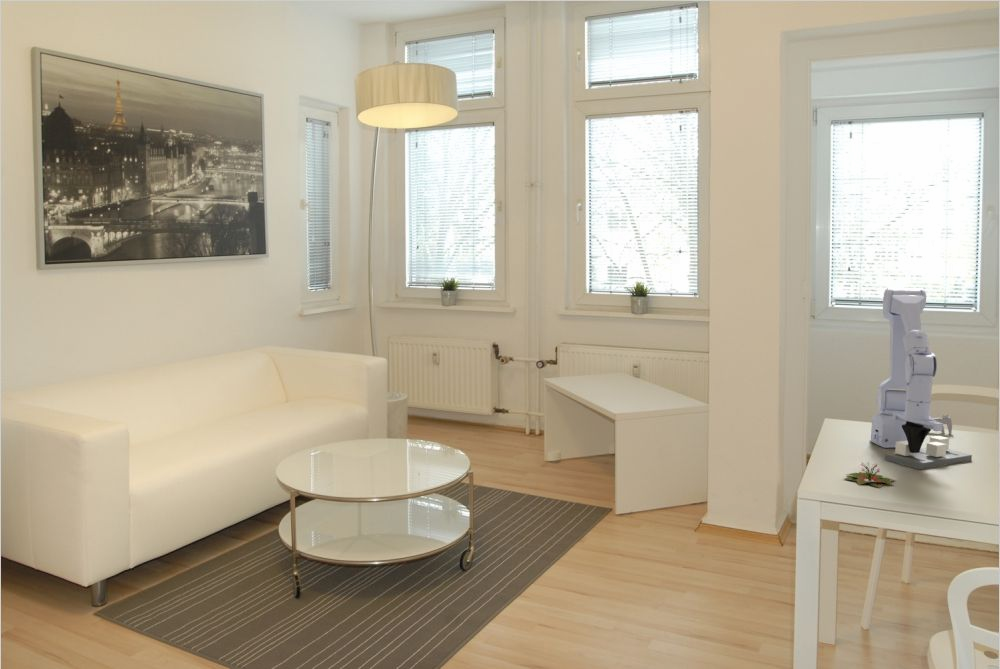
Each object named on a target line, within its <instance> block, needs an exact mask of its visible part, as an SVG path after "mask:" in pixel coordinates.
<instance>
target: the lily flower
mask: <svg viewBox="0 0 1000 669" xmlns="http://www.w3.org/2000/svg"><path fill="white" fill-rule="evenodd" d="M860 465H861V466H862V469H861V471H859V472H852V473H848V474H845V475H847V476H846V478H844V480H847V481H855V482H857V485H858V486H859V485H863V484H867V485H871V486H873V487H876V488H878V489H880V488H881V487H882V486H883V483H884V484H887V485H890V486H894V485H893V483H891V482H894V481H895V479H894V478H890V477H884V476H883V475H881V474H878V473H880V470H881V469H880V468H879V469H877V470H876V472H874V470H875V468H877V467H878V464H875V465H874V462H873V463H872V466H871V469H870V468H869V466H870V465H869V462H867V465H868V466H867V465H865V464H864V462H861V464H860ZM863 467H864V468H865V469H864V468H863ZM867 480H868V481H867ZM871 482H874V483H875V484H873V483H871ZM894 487H895V486H894Z"/></svg>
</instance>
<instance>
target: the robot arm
mask: <svg viewBox="0 0 1000 669" xmlns="http://www.w3.org/2000/svg"><path fill="white" fill-rule="evenodd" d="M882 302H883V303H882V313H883V314H882V315H883V318H886V319H887V320H889V326H890V328H889V329H890V332H889V333H890V335H889V337H890V338H889V339H890V340H889V376H888V378H887V379H885V380H884V381H882V382H881V383H880V384H879V385H878V390H877V392H878V393H877V396H876V405H877V409H878V410H879V411H880V412H881V413H876V414H874V415H873V416H872V420H871V428H870V429H871V431H870V439H869V440H868V441H869V442H871V443H873V444H875V445H877V446H879V447H881V448H884V449H885V448H886V449H887V448H888V449H891V448H895V449H896V442H899V441H908V445H909V450H910V452H911V453H919V452H920V449H922V447H923V446H922V445H923V443H924V441H925V440H926V437H927V436H928V435H929V434H930V432H931V430H932V431H933V432H941V431H942V425H943V426H944V424H943V423H940V422H937V421H935V420H933V419H932V418H933V417H932V416H930V415H931V404H932V403H931V401H932V391H933V390H932V389H933V388H932V387H933V378H934V377H935V376H936V374H937V371H938V370H937V369H938V361H937V356H936V354H935V353H934V351H931V347H930V343H929V338H928V335H927V333H926V332H924V331H923V330H922V322H921V314H922V313H923V311H924V309H925V308H926V304H927V293H926V290H924V288H921V287H920V288H902V287H901V288H898V287H897V288H892V287H887V288H886V289H885V290H884V293H883V299H882ZM898 389H899V390H898ZM901 389H903V390H901Z"/></svg>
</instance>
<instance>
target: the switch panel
mask: <svg viewBox="0 0 1000 669" xmlns="http://www.w3.org/2000/svg"><path fill="white" fill-rule="evenodd" d="M972 456H973V455H972V454H969V453H966V452H965V453H964V452H961V451H957V450H954V449H950V448H948V449H946V456H940V457H934V456H930V455H927V454H926V447H921V449H920V452H919V453H915V454H914V455H908V456H904V455H900V454H897V453H895V452H891V453H885V461H889V462H893V463H896V464H899V465H903V466H906V467H909V468H913V469H916V470H923V469H930V468H936V467H942V466H947V465H954V464H959V463H966V462H972Z"/></svg>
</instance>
